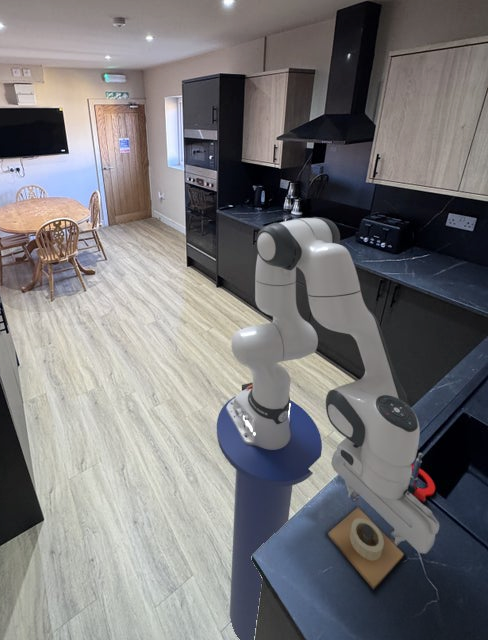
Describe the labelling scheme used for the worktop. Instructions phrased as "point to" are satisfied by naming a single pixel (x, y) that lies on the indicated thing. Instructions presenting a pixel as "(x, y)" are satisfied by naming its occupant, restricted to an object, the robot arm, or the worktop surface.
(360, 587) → the worktop surface
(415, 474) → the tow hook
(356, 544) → the tape roll
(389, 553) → the peg stand
